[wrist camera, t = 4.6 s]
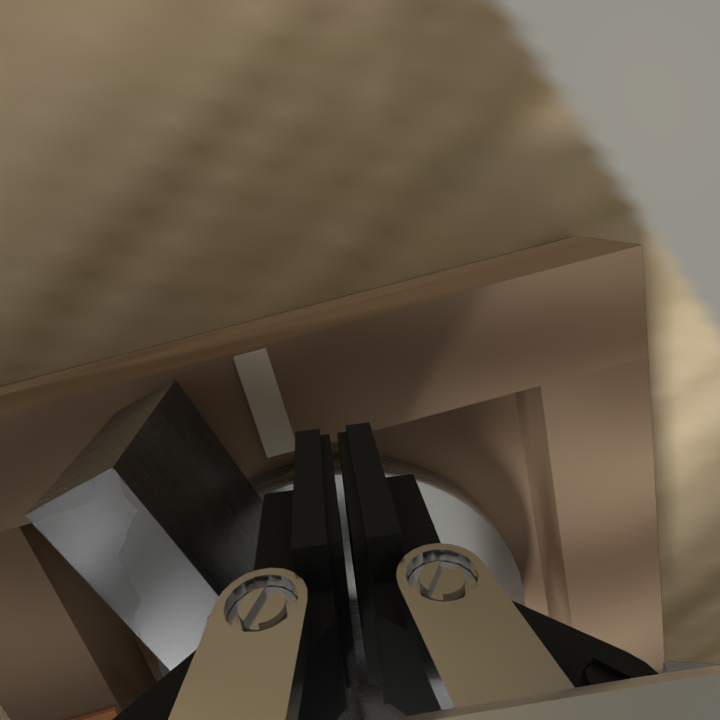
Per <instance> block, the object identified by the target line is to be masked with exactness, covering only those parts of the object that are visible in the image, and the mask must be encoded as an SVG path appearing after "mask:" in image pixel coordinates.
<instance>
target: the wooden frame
mask: <svg viewBox="0 0 720 720" xmlns="http://www.w3.org/2000/svg"><path fill="white" fill-rule="evenodd" d="M175 379H176V381H177V382H178V383H179V385H180V386H181V388H182V389H183V390H184V392H185V393H186V395H187V396H188V397H189V399H190V400H191V401H192V403H193V404H194V406H195V407H196V408H197V410H198V411H199V413H200V414H201V415H202V417H203V418H204V420H205V421H206V422H207V424H208V425H209V427H210V428H211V429H212V431H213V432H214V434H215V435H216V436H217V438H218V439H219V441H220V442H221V443H222V445H223V446H224V448H225V449H226V450H227V452H228V453H229V455H230V456H231V457H232V459H233V460H234V462H235V463H236V464H237V466H238V467H239V468H240V470H241V471H242V473H243V474H244V475H245V477H246V478H247V480H248V481H251V480H253V479H255V478H257V477H259V476H261V475H264V474H266V473H268V472H270V471H272V470H275V469H277V468H280V467H283V466H287V465H290V464H293V463H294V455H295V432H297V431H305V430H313V429H320V435H324V434H330V441H331V449H332V456H336V455H340V454H339V445H338V436H337V433H339V432H346V425H352V424H359V423H367V422H369V423H370V426H371V429H372V432H373V436H374V439H375V443H376V446H377V449H378V453H379V456H381V457H387V458H393V459H399V460H402V461H406V462H409V463H412V464H416V465H419V466H422V467H424V468H426V469H429V470H431V471H433V472H436V473H438V474H440V475H442V476H443V477H445V478H447V479H448V480H450V481H452V482H453V483H455V484H456V485H458V486H459V487H461V488H462V489H463V490H464V491H465V492H467V493H468V494H469V495H470V496H471V497H473V498H474V499H475V500H476V501H477V502H478V504H479V505H480V506H481V507H482V508H483V509H484V510H485V512H486V513H487V514H488V515H489V517H490V519H491V520H492V522H493V523H494V525H495V526H496V528H497V530H498V531H499V533H500V535H501V536H502V538H503V540H504V541H505V543H506V545H507V546H508V548H509V550H510V552H511V553H512V555H513V558H514V560H515V562H516V565H517V567H518V569H519V572H520V576H521V580H522V585H523V589H524V600H525V606H526V607H528V608H530V609H532V610H534V611H537V612H539V613H541V614H543V615H546V616H548V617H550V618H552V619H555V620H557V621H559V622H561V623H564V624H566V625H568V626H570V627H573V628H575V629H577V630H579V631H582V632H584V633H586V634H588V635H591V636H593V637H595V638H597V639H599V640H602V641H604V642H606V643H608V644H611V645H613V646H615V647H617V648H620V649H622V650H624V651H626V652H628V653H630V654H632V655H634V656H636V657H637V658H639V659H641V660H643V661H644V662H646V663H647V664H648V665H649V666H650V667H652V668H653V669H654V670H663V663H664V661H665V659H664V640H663V622H662V603H661V585H660V566H659V548H658V529H657V510H656V492H655V473H654V455H653V436H652V418H651V399H650V381H649V362H648V344H647V325H646V306H645V288H644V269H643V251H642V245H639V244H631V243H624V242H616V241H608V240H601V239H593V238H585V237H577V236H574V237H570V238H567V239H563V240H559V241H555V242H551V243H547V244H544V245H540V246H536V247H532V248H528V249H524V250H521V251H517V252H513V253H509V254H505V255H502V256H498V257H494V258H490V259H486V260H482V261H479V262H475V263H471V264H467V265H463V266H459V267H456V268H452V269H448V270H444V271H440V272H437V273H433V274H429V275H425V276H421V277H417V278H414V279H410V280H406V281H402V282H398V283H394V284H391V285H387V286H383V287H379V288H375V289H372V290H368V291H364V292H360V293H356V294H352V295H349V296H345V297H341V298H337V299H333V300H329V301H326V302H322V303H318V304H314V305H310V306H307V307H303V308H299V309H295V310H291V311H287V312H284V313H280V314H276V315H272V316H268V317H264V318H261V319H257V320H253V321H249V322H245V323H242V324H238V325H234V326H230V327H226V328H222V329H219V330H215V331H211V332H207V333H203V334H199V335H196V336H192V337H188V338H184V339H180V340H177V341H173V342H169V343H165V344H161V345H157V346H154V347H150V348H146V349H142V350H138V351H134V352H131V353H127V354H123V355H119V356H115V357H112V358H108V359H104V360H100V361H96V362H92V363H89V364H85V365H81V366H77V367H73V368H69V369H66V370H62V371H58V372H54V373H50V374H47V375H43V376H39V377H35V378H31V379H27V380H24V381H20V382H16V383H12V384H8V385H4V386H1V387H0V704H1V706H2V707H3V709H4V710H5V712H6V713H7V715H8V716H9V718H10V719H11V720H112V719H113V718H115V717H116V716H117V715H118V714H119V713H121V712H122V711H123V710H124V709H125V708H127V707H128V706H129V705H130V704H131V703H133V702H134V701H135V700H136V699H137V698H139V697H140V696H141V695H142V694H143V693H145V692H146V691H147V690H148V689H149V688H151V687H152V686H153V685H154V684H155V683H157V682H158V681H159V680H160V679H161V678H163V676H162V674H161V671H160V668H159V663H158V658H157V656H156V655H155V654H154V653H153V652H152V651H151V650H150V649H149V648H148V647H147V646H146V644H145V643H144V642H143V641H142V640H141V639H140V638H139V637H138V636H137V635H136V634H135V633H134V632H133V631H132V629H131V628H130V627H129V626H128V625H127V624H126V623H125V622H124V621H123V620H122V619H121V618H120V617H119V616H118V614H117V613H116V612H115V611H114V610H113V609H112V608H111V607H110V606H109V605H108V604H107V603H106V602H105V601H104V599H103V598H102V597H101V596H100V595H99V594H98V593H97V592H96V591H95V590H94V589H93V588H92V587H91V586H90V584H89V583H88V582H87V581H86V580H85V579H84V578H83V577H82V576H81V575H80V574H79V573H78V572H77V571H76V569H75V568H74V567H73V566H72V565H71V564H70V563H69V562H68V561H67V560H66V559H65V558H64V557H63V556H62V554H61V553H60V552H59V551H58V550H57V549H56V548H55V547H54V546H53V545H52V544H51V543H50V542H49V541H48V539H47V538H46V537H45V536H44V535H43V534H42V533H41V532H40V531H39V530H38V529H37V528H36V527H35V526H34V524H33V523H32V522H31V521H30V520H29V519H28V518H27V517H26V516H25V514H26V513H27V512H28V511H29V510H30V509H31V508H32V507H33V505H34V504H35V503H36V502H37V501H38V500H39V499H40V497H41V496H42V495H43V494H44V493H45V492H46V491H47V490H48V488H49V487H50V486H51V485H52V484H53V483H54V482H55V481H56V479H57V478H58V477H59V476H60V475H61V474H62V473H63V471H64V470H65V469H66V468H67V467H68V466H69V465H70V464H71V462H72V461H73V460H74V459H75V458H76V457H77V456H78V455H79V453H80V452H81V451H82V450H83V449H84V448H85V447H86V446H87V444H88V443H89V442H90V441H91V440H92V439H93V438H94V436H95V435H96V434H97V433H98V432H99V431H100V430H101V429H102V427H103V426H104V425H105V424H106V423H107V422H108V421H109V420H110V418H111V417H112V416H113V415H114V414H115V413H116V412H117V411H119V410H121V409H122V408H124V407H126V406H128V405H130V404H132V403H133V402H135V401H137V400H139V399H141V398H142V397H144V396H146V395H148V394H150V393H152V392H153V391H155V390H157V389H159V388H161V387H162V386H164V385H166V384H168V383H170V382H171V381H173V380H175Z"/></svg>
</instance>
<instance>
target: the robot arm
mask: <svg viewBox="0 0 720 720" xmlns="http://www.w3.org/2000/svg"><path fill="white" fill-rule="evenodd" d="M337 436H338V445H339V454H340V463H341V471H342V480H343V488H344V497H345V506H346V514H347V523H348V532H349V540H350V548H351V556H352V563H353V571H354V578H355V586H356V593H357V601H358V608H359V616H360V623H361V631H362V638H363V646H364V653H365V661H366V668H367V676H368V683H369V685H370V684H376V683H381V690H382V696H383V702H384V705H385V704H391V705H392V706H394V707H395V708H397V709H398V710H400V711H401V712H403V713H404V714H405V715H407V716H405V717H399V718H393V719H388V720H720V664H708V663H688V662H668V661H664V663H663V670H654V669H653V668H652V667H650V666H649V665H648V664H647V663H646V662H644V661H643V660H641V659H639V658H637V657H636V656H634V655H632V654H630V653H628V652H626V651H624V650H622V649H620V648H617V647H615V646H613V645H611V644H608V643H606V642H604V641H602V640H599V639H597V638H595V637H593V636H591V635H588V634H586V633H584V632H582V631H579V630H577V629H575V628H573V627H570V626H568V625H566V624H564V623H561V622H559V621H557V620H555V619H552V618H550V617H548V616H546V615H543V614H541V613H539V612H537V611H534V610H532V609H530V608H528V607H526V606H523V605H521V604H519V603H517V602H514V601H512V600H511V599H510V598H509V597H508V595H507V594H506V593H505V591H504V590H503V588H502V587H501V586H500V584H499V583H498V582H497V580H496V579H495V577H494V576H493V575H492V573H491V572H490V571H489V569H488V568H487V567H486V565H485V564H484V562H483V561H482V560H481V559H480V558H479V557H478V556H477V555H476V554H474V553H472V552H471V551H469V550H467V549H465V548H463V547H460V546H456V545H453V544H443V543H441V542H440V539H439V537H438V534H437V532H436V529H435V527H434V524H433V522H432V519H431V517H430V514H429V512H428V509H427V507H426V504H425V502H424V499H423V497H422V494H421V492H420V489H419V487H418V484H417V482H416V479H415V477H414V475H413V474H406V475H399V476H392V477H385V473H384V470H383V466H382V463H381V460H380V456H379V453H378V449H377V446H376V443H375V439H374V436H373V432H372V429H371V426H370V423H369V422H367V423H359V424H352V425H346V432H339V433H337ZM353 687H359V682H358V673H357V664H356V655H355V646H354V637H353V628H352V620H351V611H350V602H349V593H348V584H347V575H346V566H345V558H344V549H343V540H342V532H341V524H340V515H339V507H338V499H337V490H336V482H335V474H334V466H333V457H332V449H331V441H330V434H324V435H320V429H313V430H305V431H297V432H295V455H294V482H293V490H290V491H282V492H275V493H268V494H265V495H264V498H263V505H262V513H261V520H260V527H259V535H258V542H257V549H256V557H255V564H254V571H253V572H250V573H247V574H245V575H243V576H241V577H240V578H238V579H236V580H235V581H233V582H232V583H231V584H230V585H229V586H228V587H227V588H225V589H224V590H223V591H222V593H221V594H220V596H219V598H218V599H217V601H216V603H215V605H214V607H213V610H212V612H211V615H210V617H209V620H208V622H207V625H206V627H205V630H204V632H203V635H202V637H201V639H200V642H199V644H198V647H197V649H196V650H195V651H194V652H193V653H191V654H190V655H189V656H188V657H187V658H185V659H184V660H183V661H182V662H181V663H179V664H178V665H177V666H176V667H175V668H173V669H172V670H171V671H170V672H169V673H167V674H166V675H165V676H164V677H163V678H161V679H160V680H159V681H158V682H157V683H155V684H154V685H153V686H152V687H151V688H149V689H148V690H147V691H146V692H145V693H143V694H142V695H141V696H140V697H139V698H137V699H136V700H135V701H134V702H133V703H131V704H130V705H129V706H128V707H127V708H125V709H124V710H123V711H122V712H121V713H119V714H118V715H117V716H116V717H115V718H113V719H112V720H337V719H338V718H339V717H340V716H341V714H342V713H343V712H344V711H349V703H348V692H347V688H353Z"/></svg>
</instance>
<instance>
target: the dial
mask: <svg viewBox="0 0 720 720" xmlns="http://www.w3.org/2000/svg"><path fill="white" fill-rule="evenodd" d="M332 457H333V466H334V474H335V482H336V490H337V499H338V507H339V515H340V524H341V532H342V540H343V549H344V558H345V566H346V575H347V584H348V593H349V602H350V611H351V620H352V628H353V637H354V646H355V655H356V664H357V673H358V682H359V687H353V688H347V692H348V703H349V711H344V712H343V713H342V714H341V716H340V717H339V718H338V719H337V720H388V719H393V718H399V717H405V716H407V715H405V714H404V713H403V712H401V711H400V710H398V709H397V708H395V707H394V706H392V705H391V704H385V705H384V702H383V696H382V690H381V683H376V684H370V685H369V683H368V676H367V668H366V661H365V653H364V646H363V638H362V631H361V623H360V616H359V608H358V601H357V593H356V586H355V578H354V571H353V563H352V556H351V548H350V540H349V532H348V523H347V514H346V506H345V497H344V488H343V480H342V471H341V463H340V455H336V456H332ZM380 460H381V463H382V466H383V470H384V473H385V477H392V476H399V475H406V474H413V475H414V477H415V479H416V482H417V484H418V487H419V489H420V492H421V494H422V497H423V499H424V502H425V504H426V507H427V509H428V512H429V514H430V517H431V519H432V522H433V524H434V527H435V529H436V532H437V534H438V537H439V539H440V542H441V543H443V544H453V545H456V546H460V547H463V548H465V549H467V550H469V551H471V552H472V553H474V554H476V555H477V556H478V557H479V558H480V559H481V560H482V561H483V562H484V564H485V565H486V567H487V568H488V569H489V571H490V572H491V573H492V575H493V576H494V577H495V579H496V580H497V582H498V583H499V584H500V586H501V587H502V588H503V590H504V591H505V593H506V594H507V595H508V597H509V598H510V599H511V600H512V601H514V602H517V603H519V604H521V605H523V606H525V600H524V589H523V585H522V580H521V576H520V572H519V569H518V567H517V565H516V562H515V560H514V558H513V555H512V553H511V552H510V550H509V548H508V546H507V545H506V543H505V541H504V540H503V538H502V536H501V535H500V533H499V531H498V530H497V528H496V526H495V525H494V523H493V522H492V520H491V519H490V517H489V515H488V514H487V513H486V512H485V510H484V509H483V508H482V507H481V506H480V505H479V504H478V502H477V501H476V500H475V499H474V498H473V497H471V496H470V495H469V494H468V493H467V492H465V491H464V490H463V489H462V488H461V487H459V486H458V485H456V484H455V483H453V482H452V481H450V480H448V479H447V478H445V477H443V476H442V475H440V474H438V473H436V472H433V471H431V470H429V469H426V468H424V467H422V466H419V465H416V464H412V463H409V462H406V461H402V460H399V459H393V458H387V457H381V456H380ZM293 482H294V463H293V464H290V465H287V466H283V467H280V468H277V469H275V470H272V471H270V472H268V473H266V474H264V475H261V476H259V477H257V478H255V479H253V480H251V481H248V480H247V478H246V477H245V475H244V474H243V473H242V471H241V470H240V468H239V467H238V466H237V464H236V463H235V462H234V460H233V459H232V457H231V456H230V455H229V453H228V452H227V450H226V449H225V448H224V446H223V445H222V443H221V442H220V441H219V439H218V438H217V436H216V435H215V434H214V432H213V431H212V429H211V428H210V427H209V425H208V424H207V422H206V421H205V420H204V418H203V417H202V415H201V414H200V413H199V411H198V410H197V408H196V407H195V406H194V404H193V403H192V401H191V400H190V399H189V397H188V396H187V395H186V393H185V392H184V390H183V389H182V388H181V386H180V385H179V383H178V382H177V381H176V379H175V380H173V381H171V382H170V383H168V384H166V385H164V386H162V387H161V388H159V389H157V390H155V391H153V392H152V393H150V394H148V395H146V396H144V397H142V398H141V399H139V400H137V401H135V402H133V403H132V404H130V405H128V406H126V407H124V408H122V409H121V410H119V411H117V412H116V413H115V414H114V415H113V416H112V417H111V418H110V420H109V421H108V422H107V423H106V424H105V425H104V426H103V427H102V429H101V430H100V431H99V432H98V433H97V434H96V435H95V436H94V438H93V439H92V440H91V441H90V442H89V443H88V444H87V446H86V447H85V448H84V449H83V450H82V451H81V452H80V453H79V455H78V456H77V457H76V458H75V459H74V460H73V461H72V462H71V464H70V465H69V466H68V467H67V468H66V469H65V470H64V471H63V473H62V474H61V475H60V476H59V477H58V478H57V479H56V481H55V482H54V483H53V484H52V485H51V486H50V487H49V488H48V490H47V491H46V492H45V493H44V494H43V495H42V496H41V497H40V499H39V500H38V501H37V502H36V503H35V504H34V505H33V507H32V508H31V509H30V510H29V511H28V512H27V513H26V514H25V516H26V517H27V518H28V519H29V520H30V521H31V522H32V523H33V524H34V526H35V527H36V528H37V529H38V530H39V531H40V532H41V533H42V534H43V535H44V536H45V537H46V538H47V539H48V541H49V542H50V543H51V544H52V545H53V546H54V547H55V548H56V549H57V550H58V551H59V552H60V553H61V554H62V556H63V557H64V558H65V559H66V560H67V561H68V562H69V563H70V564H71V565H72V566H73V567H74V568H75V569H76V571H77V572H78V573H79V574H80V575H81V576H82V577H83V578H84V579H85V580H86V581H87V582H88V583H89V584H90V586H91V587H92V588H93V589H94V590H95V591H96V592H97V593H98V594H99V595H100V596H101V597H102V598H103V599H104V601H105V602H106V603H107V604H108V605H109V606H110V607H111V608H112V609H113V610H114V611H115V612H116V613H117V614H118V616H119V617H120V618H121V619H122V620H123V621H124V622H125V623H126V624H127V625H128V626H129V627H130V628H131V629H132V631H133V632H134V633H135V634H136V635H137V636H138V637H139V638H140V639H141V640H142V641H143V642H144V643H145V644H146V646H147V647H148V648H149V649H150V650H151V651H152V652H153V653H154V654H155V655H156V656H157V658H158V663H159V668H160V671H161V674H162V676H163V677H164V676H165V675H166V674H167V673H169V672H170V671H171V670H172V669H173V668H175V667H176V666H177V665H178V664H179V663H181V662H182V661H183V660H184V659H185V658H187V657H188V656H189V655H190V654H191V653H193V652H194V651H195V650H196V649H197V647H198V644H199V642H200V639H201V637H202V635H203V632H204V630H205V627H206V625H207V622H208V620H209V617H210V615H211V612H212V610H213V607H214V605H215V603H216V601H217V599H218V598H219V596H220V594H221V593H222V591H223V590H224V589H225V588H227V587H228V586H229V585H230V584H231V583H232V582H233V581H235V580H236V579H238V578H240V577H241V576H243V575H245V574H247V573H250V572H253V571H254V564H255V557H256V549H257V542H258V535H259V527H260V520H261V513H262V505H263V498H264V495H265V494H268V493H275V492H282V491H290V490H293Z"/></svg>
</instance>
